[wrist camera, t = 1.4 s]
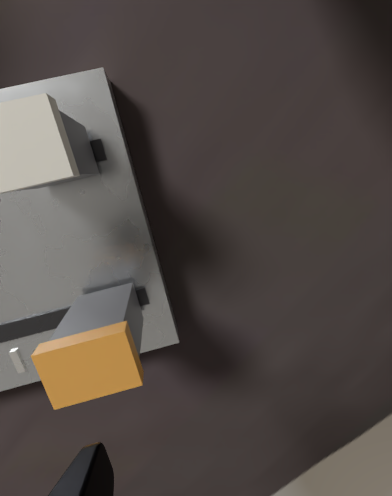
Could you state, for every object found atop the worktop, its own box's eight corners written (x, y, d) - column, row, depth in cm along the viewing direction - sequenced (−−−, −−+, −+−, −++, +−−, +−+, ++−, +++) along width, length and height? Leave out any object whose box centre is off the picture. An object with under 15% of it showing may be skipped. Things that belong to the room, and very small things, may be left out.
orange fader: (135, 279, 16) (124, 331, 11) (147, 318, 16) (142, 385, 11) (73, 295, 16) (30, 356, 10) (87, 334, 16) (54, 410, 11)
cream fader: (88, 123, 14) (46, 92, 9) (104, 175, 14) (73, 175, 9) (15, 139, 14) (-74, 118, 8) (34, 191, 14) (-38, 201, 9)
